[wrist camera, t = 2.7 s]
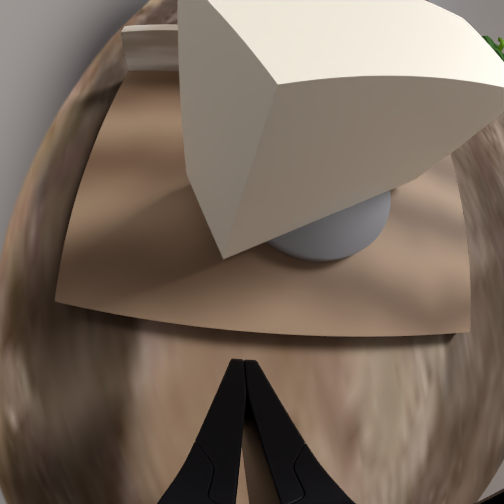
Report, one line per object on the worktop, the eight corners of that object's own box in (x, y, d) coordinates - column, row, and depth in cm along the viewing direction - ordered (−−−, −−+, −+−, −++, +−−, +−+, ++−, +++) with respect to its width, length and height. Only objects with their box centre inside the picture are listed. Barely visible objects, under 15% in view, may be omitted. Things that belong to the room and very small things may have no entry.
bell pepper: (491, 93, 31) (522, 65, 21) (460, 59, 31) (488, 28, 22) (493, 81, 33) (519, 57, 23) (465, 52, 33) (489, 25, 24)
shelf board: (457, 332, 18) (508, 329, 13) (66, 303, 14) (14, 293, 9) (435, 140, 22) (468, 111, 17) (135, 76, 19) (125, 25, 13)
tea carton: (422, 217, 18) (553, 138, 6) (242, 308, 14) (379, 257, 3) (353, 104, 19) (431, -9, 8) (173, 148, 16) (158, -46, 4)
